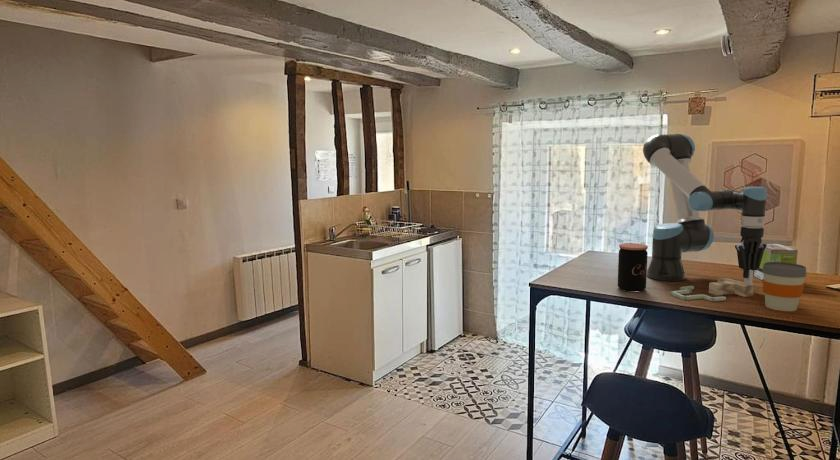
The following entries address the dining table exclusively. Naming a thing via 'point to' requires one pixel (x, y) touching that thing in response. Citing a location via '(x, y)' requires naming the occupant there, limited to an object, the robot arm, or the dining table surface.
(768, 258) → the tea box
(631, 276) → the coffee jar
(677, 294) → the t outline
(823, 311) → the dining table surface
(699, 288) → the dining table surface
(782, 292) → the reusable coffee cup
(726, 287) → the t block
